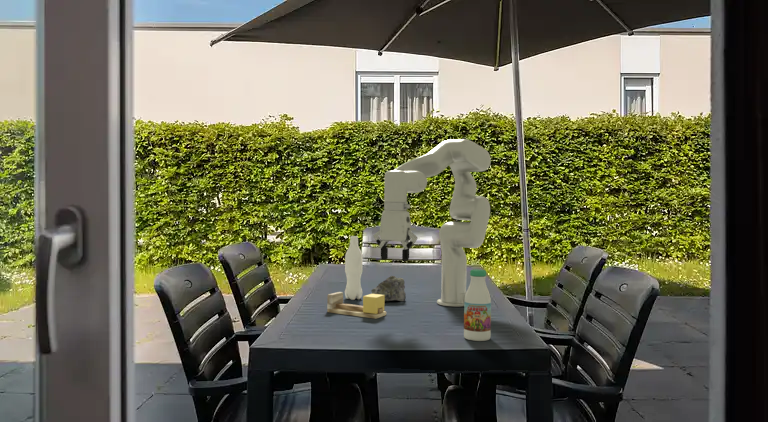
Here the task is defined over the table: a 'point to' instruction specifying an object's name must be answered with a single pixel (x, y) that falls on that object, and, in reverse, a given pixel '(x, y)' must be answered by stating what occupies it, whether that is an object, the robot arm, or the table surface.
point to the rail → (356, 313)
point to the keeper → (373, 303)
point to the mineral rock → (391, 289)
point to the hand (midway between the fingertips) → (394, 259)
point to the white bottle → (353, 269)
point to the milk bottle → (477, 308)
